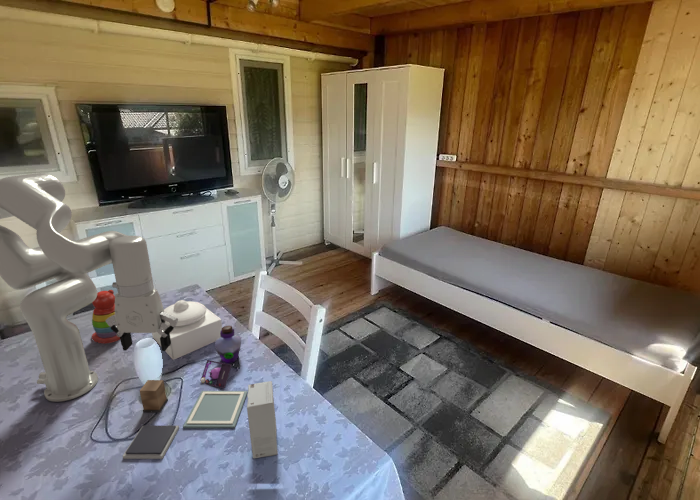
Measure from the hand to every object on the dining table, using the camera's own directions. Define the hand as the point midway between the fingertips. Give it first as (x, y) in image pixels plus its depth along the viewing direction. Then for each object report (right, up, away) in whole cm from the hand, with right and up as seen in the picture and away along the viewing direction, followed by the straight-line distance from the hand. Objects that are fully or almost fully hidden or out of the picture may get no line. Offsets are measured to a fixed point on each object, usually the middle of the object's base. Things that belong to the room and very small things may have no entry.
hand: (147, 347), depth 94 cm
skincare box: (+31, -22, -5) cm, 39 cm away
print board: (+16, -18, +5) cm, 25 cm away
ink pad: (+4, -21, -6) cm, 23 cm away
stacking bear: (-33, -6, +37) cm, 50 cm away
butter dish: (-5, -7, +36) cm, 37 cm away
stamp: (-1, -17, +6) cm, 19 cm away
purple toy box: (+17, -13, +15) cm, 26 cm away
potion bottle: (+13, -11, +26) cm, 31 cm away
